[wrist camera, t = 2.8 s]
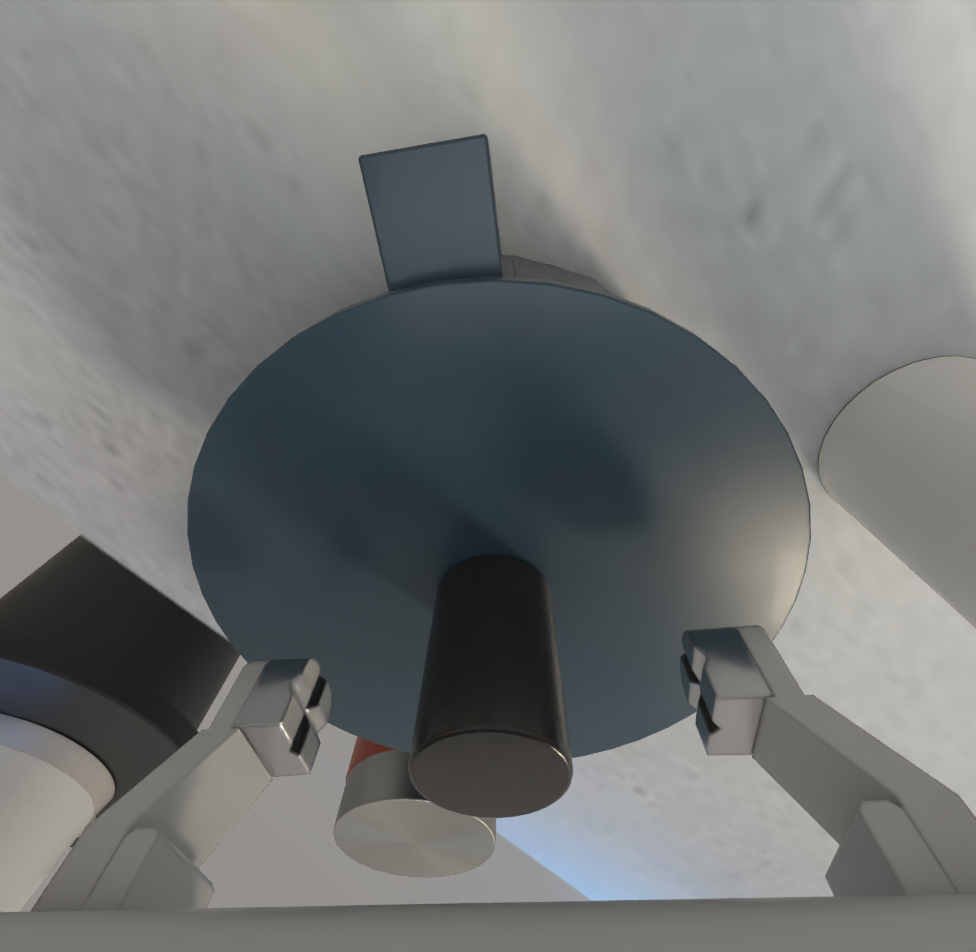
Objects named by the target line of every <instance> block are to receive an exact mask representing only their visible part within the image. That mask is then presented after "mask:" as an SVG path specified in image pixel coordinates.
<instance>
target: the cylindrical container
mask: <svg viewBox="0 0 976 952" xmlns="http://www.w3.org/2000/svg"><path fill="white" fill-rule="evenodd" d="M819 473H820V479H821V482H822V484H823V486H824V488H825V490H826V491H827V493H828V494H829V495H830V496H831V497H832V498H833V499H834V500H835V501H836V502H837V503H838V504H839V505H840V506H842V507H843V508H844V509H845V510H846V511H847V512H848V513H849V514H850V515H852V516H853V517H854V518H855V519H856V520H857V521H858V522H859V523H860V524H861V525H863V526H864V527H865V528H866V529H867V530H868V531H869V532H870V533H871V534H872V535H874V536H875V537H876V538H877V539H878V540H879V541H880V542H881V543H882V544H883V545H885V546H886V547H887V548H888V549H889V550H890V551H891V552H892V553H893V554H895V555H896V556H897V557H898V558H899V559H900V560H901V561H902V562H903V563H904V564H906V565H907V566H908V567H909V568H910V569H911V570H912V571H913V572H914V573H915V574H917V575H918V576H919V577H920V578H921V579H922V580H923V581H924V582H925V583H926V584H928V585H929V586H930V587H931V588H932V589H933V590H934V591H935V592H936V593H938V594H939V595H940V596H941V597H942V598H943V599H944V600H945V601H946V602H947V603H949V604H950V605H951V606H952V607H953V608H954V609H955V610H956V611H957V612H958V613H960V614H961V615H962V616H963V617H964V618H965V619H966V620H967V621H968V622H969V623H971V624H972V625H973V626H974V627H975V628H976V359H973V358H966V357H959V356H951V357H936V358H931V359H927V360H923V361H919V362H915V363H912V364H910V365H907V366H905V367H902V368H900V369H897V370H895V371H893V372H891V373H889V374H887V375H886V376H884V377H882V378H880V379H878V380H877V381H875V382H874V383H873V384H871V385H870V386H868V387H867V388H866V389H864V390H863V391H862V392H860V393H859V394H858V395H857V396H856V397H855V398H854V399H853V400H852V401H851V402H850V403H849V404H848V405H847V406H846V407H845V408H844V409H843V410H842V412H841V413H840V414H839V415H838V417H837V418H836V419H835V420H834V422H833V424H832V425H831V427H830V429H829V431H828V433H827V434H826V436H825V438H824V441H823V444H822V448H821V451H820V454H819Z"/></svg>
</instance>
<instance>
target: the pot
mask: <svg viewBox="0 0 976 952" xmlns="http://www.w3.org/2000/svg"><path fill="white" fill-rule="evenodd" d="M359 164H360V168H361V172H362V177H363V181H364V185H365V190H366V194H367V198H368V203H369V207H370V211H371V216H372V220H373V224H374V229H375V233H376V237H377V242H378V246H379V250H380V255H381V259H382V263H383V268H384V272H385V276H386V281H387V285H388V289H389V291H393V290H397V289H402V288H406V287H411V286H415V285H420V284H424V283H429V282H433V281H438V280H448V279H461V278H474V277H487V276H500V277H516V278H531V279H547V280H552V281H557V282H561V283H566V284H571V285H576V286H581V287H585V288H590V289H595V290H600V291H602V292H605V293H608V294H610V293H609V292H608V291H607V290H606V289H605V288H604V287H602V286H601V285H600V284H599V283H598V282H597V281H595V280H594V279H592V278H590V277H587V276H583V275H580V274H576V273H573V272H569V271H566V270H564V269H561V268H558V267H556V266H553V265H549V264H544V263H540V262H535V261H531V260H528V259H524V258H521V257H517V256H514V255H513V256H511V255H507V256H502V254H501V245H500V237H499V228H498V219H497V211H496V202H495V193H494V185H493V176H492V167H491V158H490V150H489V142H488V138H487V136H486V135H485V134H481V135H475V136H469V137H463V138H458V139H452V140H446V141H441V142H435V143H429V144H424V145H418V146H412V147H407V148H401V149H395V150H389V151H384V152H378V153H372V154H367V155H361V156H360V157H359ZM611 295H612V294H611Z"/></svg>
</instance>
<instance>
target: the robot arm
mask: <svg viewBox="0 0 976 952" xmlns="http://www.w3.org/2000/svg"><path fill="white" fill-rule="evenodd" d="M682 645H683V648H684V650H685V653H684V654H683V655H682V656H681V657H680V674H681V681H682V685H683V689H684V692H685V695H686V698H687V701H688V703H689V704H690V705H691V706H692V707H694V708H695V709H696V710H697V715H696V726H697V729H698V731H699V734H700V737H701V740H702V742H703V745H704V748H705V750H706V753H707V756H708V755H752V757H753V758H754V759H755V760H756V761H757V762H758V763H759V764H760V765H761V766H762V767H763V768H764V769H765V770H766V771H767V772H768V773H769V774H770V775H771V776H772V777H773V778H774V779H775V780H776V781H777V782H778V783H779V784H780V785H781V786H782V787H783V788H784V789H785V790H786V791H787V792H788V793H789V794H790V795H791V796H792V797H793V798H794V799H795V800H796V801H797V802H798V803H799V804H800V805H801V806H802V807H803V808H804V809H805V810H806V811H807V812H808V813H809V814H810V815H811V816H812V817H813V818H814V819H815V820H816V821H817V822H818V823H819V824H820V825H821V826H822V827H823V828H824V829H825V830H826V831H827V832H828V833H829V834H830V835H831V836H832V837H833V838H834V839H835V840H836V841H837V842H838V843H839V844H840V846H839V848H838V850H837V852H836V854H835V857H834V859H833V861H832V863H831V865H830V867H829V869H828V871H827V873H826V876H825V877H826V879H827V881H828V884H829V886H830V888H831V890H832V892H833V894H834V896H833V897H778V898H724V899H670V900H616V901H562V902H511V903H510V902H509V903H458V904H407V905H405V904H404V905H355V906H354V905H353V906H352V905H351V906H304V907H303V906H299V907H247V908H208V905H209V903H210V900H211V898H212V895H213V893H214V887H213V883H212V882H211V881H210V880H209V879H208V878H207V877H206V876H205V875H204V874H203V873H202V872H201V871H200V870H199V867H200V866H201V865H202V864H203V863H204V861H205V860H206V859H207V858H208V857H209V855H210V854H211V853H212V852H213V850H214V849H215V848H216V847H217V846H218V844H219V843H220V842H221V841H222V839H224V837H225V836H226V835H227V834H228V833H229V831H230V830H231V829H232V828H233V827H234V825H235V824H236V823H237V822H238V821H239V819H240V818H241V817H242V816H243V814H244V813H245V812H246V811H247V810H248V809H249V807H250V806H251V805H252V804H253V802H254V801H255V800H256V799H257V798H258V797H259V795H260V794H261V793H262V792H263V791H264V789H265V788H266V787H267V786H268V785H269V783H270V782H271V781H272V780H273V778H272V777H279V776H292V775H305V774H310V773H311V770H312V767H313V764H314V761H315V758H316V755H317V752H318V749H319V746H320V741H319V738H318V735H317V733H318V732H319V731H320V730H321V729H322V728H323V727H324V726H325V725H326V724H327V723H328V719H329V716H330V713H331V707H332V692H331V687H330V685H329V683H328V681H327V680H326V679H324V678H323V677H321V676H320V675H319V673H320V670H321V666H320V664H319V663H318V661H317V659H316V658H306V659H283V660H265V661H250V662H249V663H248V664H247V665H245V666H244V667H243V669H242V670H241V672H240V674H239V676H238V678H237V679H236V681H235V683H234V685H233V687H232V688H231V690H230V692H229V694H228V696H227V697H226V699H225V701H224V703H223V704H222V706H221V708H220V710H219V711H218V713H217V715H216V717H215V719H214V721H213V722H212V724H211V726H210V728H209V729H208V730H201V731H200V732H199V733H198V734H197V735H196V736H194V737H193V738H192V739H191V740H190V741H188V742H187V743H186V744H185V745H184V746H182V747H181V748H180V749H179V750H178V751H176V752H175V753H174V754H173V755H172V756H170V757H169V758H168V759H167V760H166V761H165V762H163V763H162V764H161V765H160V766H159V767H157V768H156V769H155V770H154V771H153V772H151V773H150V774H149V775H148V776H147V777H145V778H144V779H143V780H142V781H141V782H139V783H138V784H137V785H136V786H135V787H134V788H132V789H131V790H130V791H129V792H128V793H126V794H125V795H124V796H123V797H122V798H120V799H119V800H118V801H117V802H116V803H114V804H113V805H112V806H111V807H110V808H108V809H107V810H106V811H105V812H104V813H103V814H101V815H100V816H99V817H98V818H97V819H96V815H97V814H98V813H99V812H100V811H101V810H102V809H103V808H104V807H105V806H106V805H107V804H108V802H109V801H110V800H111V799H112V798H113V796H114V793H115V784H114V780H113V778H112V776H111V774H110V773H109V771H108V770H107V768H106V767H105V766H104V765H103V764H102V763H101V762H100V761H99V760H98V759H97V758H96V757H95V756H94V755H92V754H91V753H90V752H89V751H87V750H86V749H84V748H83V747H81V746H80V745H78V744H77V743H75V742H73V741H72V740H70V739H68V738H66V737H64V736H62V735H60V734H58V733H56V732H54V731H52V730H50V729H47V728H45V727H43V726H40V725H37V724H35V723H32V722H29V721H26V720H23V719H19V718H16V717H12V716H9V715H5V714H1V713H0V952H976V817H975V816H974V815H973V813H972V812H971V811H970V809H969V808H968V807H967V805H966V804H965V803H964V801H963V800H962V799H961V797H960V796H959V795H958V794H956V793H955V792H953V791H952V790H950V789H949V788H947V787H946V786H945V785H943V784H942V783H940V782H939V781H937V780H936V779H934V778H933V777H931V776H930V775H929V774H927V773H926V772H924V771H923V770H921V769H920V768H918V767H917V766H915V765H914V764H913V763H911V762H910V761H908V760H907V759H905V758H904V757H902V756H901V755H899V754H898V753H897V752H895V751H894V750H892V749H891V748H889V747H888V746H886V745H885V744H883V743H882V742H881V741H879V740H878V739H876V738H875V737H873V736H872V735H870V734H869V733H867V732H866V731H865V730H863V729H862V728H860V727H859V726H857V725H856V724H854V723H853V722H851V721H850V720H849V719H847V718H846V717H844V716H843V715H841V714H840V713H838V712H837V711H835V710H834V709H833V708H831V707H830V706H828V705H827V704H825V703H824V702H822V701H821V700H820V699H818V698H817V697H815V696H814V695H804V693H803V692H802V690H801V688H800V687H799V685H798V683H797V682H796V680H795V678H794V677H793V675H792V674H791V672H790V670H789V669H788V667H787V665H786V664H785V662H784V660H783V659H782V657H781V655H780V654H779V652H778V651H777V649H776V647H775V646H774V644H773V642H772V641H771V639H770V637H769V636H768V634H767V633H766V631H765V629H764V628H762V627H761V626H760V625H754V626H740V627H721V628H710V629H698V630H686V631H684V633H683V634H682ZM77 837H80V838H79V839H78V841H77V842H76V844H75V845H74V847H73V848H72V850H71V851H70V853H69V854H68V856H67V857H66V859H65V860H64V862H63V863H62V865H61V866H60V868H59V869H58V871H57V872H56V874H55V875H54V877H53V878H52V880H51V881H50V883H49V884H48V886H47V887H46V889H45V890H44V892H43V893H42V895H41V896H40V898H39V899H38V901H37V902H36V904H35V905H34V907H33V908H32V910H31V911H30V912H19V911H20V909H21V908H22V907H23V906H24V905H25V903H26V902H27V901H28V899H29V898H30V897H31V896H32V894H33V893H34V892H35V890H36V889H37V888H38V887H39V885H40V884H41V883H42V882H43V880H44V879H45V878H46V876H47V875H48V874H49V873H50V871H51V870H52V869H53V867H54V866H55V865H56V864H57V862H58V861H59V860H60V858H61V857H62V856H63V855H64V853H65V852H66V851H67V849H68V848H69V847H70V846H71V844H72V843H73V842H74V840H75V839H76V838H77Z"/></svg>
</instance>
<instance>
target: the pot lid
mask: <svg viewBox="0 0 976 952" xmlns="http://www.w3.org/2000/svg"><path fill="white" fill-rule="evenodd" d="M188 539H189V546H190V552H191V558H192V564H193V568H194V571H195V574H196V577H197V580H198V583H199V586H200V589H201V592H202V594H203V596H204V598H205V600H206V602H207V604H208V606H209V608H210V610H211V612H212V614H213V616H214V618H215V620H216V622H217V623H218V625H219V626H220V628H221V629H222V631H223V632H224V634H225V635H226V637H227V638H228V639H229V641H230V642H231V644H232V645H233V647H234V648H235V649H236V650H237V651H238V652H239V653H240V654H241V655H242V657H243V658H244V659H245V660H246V661H247V662H248V663H249V662H250V661H265V660H283V659H306V658H316V659H317V661H318V663H319V664H320V666H321V670H320V673H319V675H320V676H321V677H323V678H324V679H326V680H327V681H328V683H329V685H330V687H331V692H332V707H331V713H330V716H329V719H328V723H330V724H332V725H334V726H336V727H338V728H340V729H342V730H344V731H347V732H348V733H351V734H353V735H356V736H358V737H361V738H364V739H366V740H369V741H371V742H374V743H377V744H380V745H383V746H386V747H390V748H393V749H397V750H400V751H404V752H407V753H410V756H409V762H408V772H409V776H410V779H411V782H412V784H413V786H414V787H415V789H416V790H417V791H418V792H419V793H420V794H421V795H422V796H423V797H424V798H426V799H427V800H428V801H430V802H432V803H433V804H435V805H437V806H439V807H441V808H444V809H446V810H449V811H452V812H455V813H459V814H463V815H468V816H474V817H484V818H504V817H514V816H520V815H525V814H529V813H532V812H535V811H538V810H541V809H543V808H545V807H547V806H549V805H551V804H553V803H554V802H556V801H557V800H558V799H559V798H561V797H562V796H563V795H564V793H565V792H566V791H567V789H568V788H569V786H570V783H571V779H572V776H573V765H572V758H575V757H581V756H585V755H590V754H594V753H598V752H602V751H606V750H610V749H613V748H616V747H619V746H622V745H625V744H628V743H631V742H634V741H637V740H640V739H642V738H645V737H647V736H649V735H652V734H654V733H656V732H659V731H661V730H663V729H665V728H668V727H670V726H671V725H673V724H675V723H677V722H679V721H681V720H682V719H684V718H686V717H688V716H690V715H692V714H693V713H695V712H696V711H697V710H696V709H695V708H694V707H692V706H691V705H690V704H689V703H688V701H687V698H686V695H685V692H684V689H683V685H682V681H681V674H680V657H681V656H682V655H683V654H684V653H685V650H684V648H683V645H682V634H683V633H684V631H686V630H698V629H710V628H721V627H740V626H754V625H760V626H761V627H762V628H764V629H765V631H766V633H767V634H768V636H769V637H770V639H771V641H773V639H774V638H775V637H776V635H777V634H778V632H779V631H780V630H781V628H782V626H783V624H784V622H785V620H786V618H787V616H788V614H789V613H790V611H791V609H792V607H793V605H794V603H795V601H796V598H797V595H798V592H799V589H800V586H801V583H802V580H803V577H804V574H805V571H806V565H807V559H808V553H809V546H810V540H811V530H810V502H809V497H808V492H807V487H806V483H805V478H804V473H803V468H802V466H801V463H800V461H799V458H798V456H797V454H796V451H795V449H794V446H793V444H792V441H791V439H790V436H789V434H788V432H787V431H786V429H785V427H784V426H783V424H782V423H781V421H780V420H779V418H778V417H777V415H776V413H775V412H774V410H773V409H772V407H771V406H770V404H769V402H768V401H767V399H766V398H765V397H764V396H763V395H762V394H761V393H760V392H759V390H758V389H757V388H756V387H755V386H754V385H753V384H752V383H751V382H750V381H749V380H748V379H747V377H746V376H745V375H744V374H743V373H742V372H741V371H740V370H739V369H738V368H737V367H736V366H735V365H734V364H733V363H731V362H730V361H729V360H728V359H726V358H725V357H724V356H722V355H721V354H720V353H718V352H717V351H716V350H715V349H713V348H712V347H711V346H709V345H708V344H707V343H706V342H704V341H703V340H702V339H700V338H699V337H698V336H696V335H695V334H694V333H692V332H690V331H689V330H687V329H685V328H683V327H681V326H680V325H678V324H676V323H674V322H672V321H670V320H669V319H667V318H665V317H663V316H661V315H659V314H658V313H656V312H654V311H652V310H650V309H649V308H646V307H643V306H641V305H638V304H635V303H632V302H630V301H627V300H624V299H621V298H619V297H616V296H613V295H611V294H608V293H605V292H602V291H600V290H595V289H590V288H585V287H581V286H576V285H571V284H566V283H561V282H557V281H552V280H547V279H531V278H516V277H500V276H487V277H474V278H461V279H448V280H438V281H433V282H429V283H424V284H420V285H415V286H411V287H406V288H402V289H397V290H393V291H388V292H386V293H383V294H380V295H378V296H375V297H372V298H370V299H367V300H365V301H362V302H359V303H357V304H354V305H351V306H349V307H346V308H344V309H341V310H339V311H337V312H336V313H334V314H332V315H330V316H329V317H327V318H325V319H323V320H322V321H320V322H318V323H316V324H315V325H313V326H311V327H309V328H308V329H306V330H304V331H302V332H301V333H299V334H297V335H296V336H294V337H293V338H291V339H290V340H289V341H288V342H286V343H285V344H284V345H283V346H281V347H280V348H279V349H278V350H277V351H275V352H274V353H273V354H272V355H270V356H269V357H268V358H267V359H265V360H264V361H263V362H262V363H260V364H259V365H258V366H257V367H256V368H255V369H254V370H253V371H252V372H251V373H250V374H249V376H248V377H247V378H246V379H245V380H244V381H243V382H242V383H241V385H240V386H239V387H238V388H237V389H236V390H235V391H234V392H233V394H232V395H231V396H230V397H229V398H228V400H227V401H226V403H225V405H224V406H223V408H222V409H221V411H220V413H219V414H218V416H217V418H216V419H215V421H214V422H213V424H212V426H211V427H210V429H209V431H208V433H207V435H206V438H205V440H204V443H203V445H202V448H201V451H200V453H199V456H198V458H197V461H196V463H195V466H194V471H193V477H192V482H191V487H190V492H189V498H188Z"/></svg>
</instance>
